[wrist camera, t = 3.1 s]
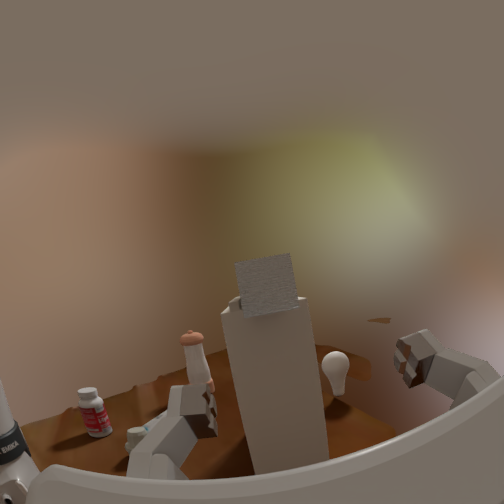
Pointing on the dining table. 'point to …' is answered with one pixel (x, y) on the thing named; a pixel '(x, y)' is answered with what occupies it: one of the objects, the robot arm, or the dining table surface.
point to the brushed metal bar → (266, 285)
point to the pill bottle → (94, 413)
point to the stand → (277, 386)
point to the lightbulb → (336, 370)
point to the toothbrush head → (141, 432)
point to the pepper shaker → (196, 360)
